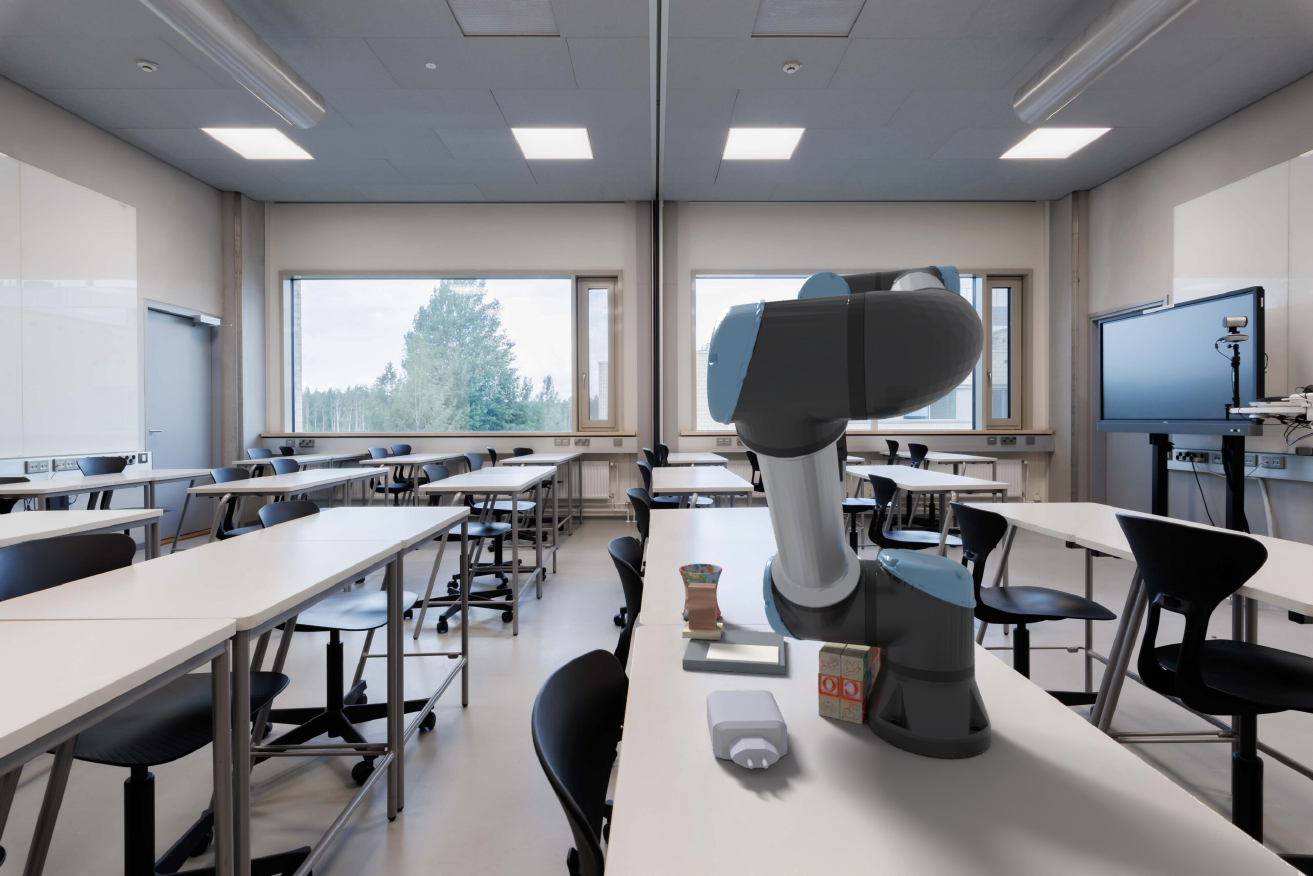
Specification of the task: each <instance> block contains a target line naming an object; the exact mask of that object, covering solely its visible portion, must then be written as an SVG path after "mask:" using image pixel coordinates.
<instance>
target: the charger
mask: <svg viewBox="0 0 1313 876" xmlns="http://www.w3.org/2000/svg"><path fill="white" fill-rule="evenodd" d="M706 719H707V720H706V721H707V726H708V732H709V737H710V742H711V747H712V753H713V755H714V757H716V758H719V759H722V760H731V761H733V762H734V763H735V764H738V765H740V766H741V767H743V768H745V769H750V770H752V769H756V768H759V769H760V768H762V769H768V768H769V766H771V765H773V764H775V763H777V762H778V761H779V759H780V758H781V757H784V756H786V755H787V753H788V727H787V723H786V721H785V719H784V717H783V714H782V712H781V710H780V707H779V706H778V703H777V701H776V699H775V697H774V694H773V693H772V692H771V691H769V690H766V689H745V690H744V689H742V690H741V689H740V690H739V689H738V690H736V689H735V690H733V689H731V690H714V691H711V692H709V693H707V695H706Z"/></svg>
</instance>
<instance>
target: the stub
mask: <svg viewBox="0 0 1313 876" xmlns="http://www.w3.org/2000/svg"><path fill="white" fill-rule="evenodd" d="M717 597H718V594H716V584H712V583H690V584H689V586H688V608H689V619H688V621H686V622H685V625H684V628H682V629H683V630H682V634H681V635H682V639H691V638H692V639H711V640H720V639H721V635H722V631H723V630H724V622H718V618H717V603H718V598H717Z"/></svg>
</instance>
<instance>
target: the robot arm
mask: <svg viewBox="0 0 1313 876" xmlns="http://www.w3.org/2000/svg"><path fill="white" fill-rule="evenodd" d="M960 276H961V275H960V271H959V269H958V267H956V266H954V265H951V264H950V265H928V266H925V267H918V268H917V267H916V268H908V269H907V268H905V269H898V270H890V271H889V270H888V271H878V272H867V273H866V272H864V273H855V274H847V275H839V274H837V273H835V272H832V271H826V270H824V271H823V270H822V271H819V272H815V273H813V274H811V275H810V276H808V277H807V278H806V279H805V280H804V281H803V282H802V284H801V285H800V287H799V290H798V292H797V298H793V299H792V298H791V299H786V300H785V299H783V300H775V301H774V300H773V301H766V299H759V301H757V302H752V303H743V304H736V305H732V306H729V307H727V308H725V309H724V310H723V311H721V313H720V314H719V315H718V317H717V318H716V320H715V323H714V327H713V329H712V334H711V336H710V337H711V338H710V343H709V348H708V349H709V350H708V357H707V366H706V368H707V370H706V393H707V395H706V396H707V406H708V411H709V414H710V418H711V419H712V420H713V421H714V422H716V423H721V424H724V425H725V426H726V425H727V426H728V425H730V424H734V427H735V431H736V434H737V437H738V439H739V441H740V443H741V444H742V445H743V446H744V447H745V448H746V449H748V451H750V452H752V453H754V454H755V455H756V458H757V462H758V466H759V471H760V476H761V481H762V485H763V489H764V494H765V499H766V503H767V507H768V511H769V517H770V521H771V525H772V529H773V534H774V539H775V542H776V547H777V550H776V552H775V554H774V555H771V556H770V557H769V558H768V560H767V562H765V566H764V570H763V577H762V595H763V597H762V598H763V600H764V606H763V607H764V611H765V616H766V619H767V622H768V625H769V626H770V628H771V629H772V630H773V632H776V633H777V634H779V635H781V636H784V637H785V638H786V637H787V638H790V639H794V640H796V641H811V642H822V643H823V642H824V643H825V642H831V643H841V644H851V645H861V646H870V647H878V648H880V667H879V670H878V673H877V676H876V679H875V682H874V685H873V688H872V691H871V693H870V696H869V699H868V703H867V715H866V720H867V725H868V726H869V728H870V730H871V731H872V732H873V733H874V734H876V736H878V737H879V738H880V739H883V740H884V741H886V742H887V743H888V744H889V743H890V745H893V746H894V747H898V748H899V749H903V750H905V751H907V752H912V753H915V754H919V755H924V756H929V757H937V758H947V759H948V758H949V759H954V758H955V759H956V758H959V759H960V758H966V757H967V758H968V757H972V756H977V755H979V754H981V753H983V752H985V751H986V750H987V749H988V748H989V747H990V745H991V742H992V737H991V735H992V734H991V733H992V730H991V729H992V728H991V720H990V718H989V717H990V716H989V714H988V712H987V708H986V706H985V705H986V704H985V703H984V700H983V697H982V694H981V692H980V691H981V690H980V689H979V686H978V683H977V680H976V668H975V667H976V658H975V657H976V656H975V655H976V654H975V652H976V651H975V650H976V649H975V647H976V646H975V607H977V601H976V599H975V589H974V587H975V586H974V579H973V575H972V573H971V572H970V570H969V569H968V568H967V567H966V566H965V565H963V564H962V563H960V562H959V561H956V560H954V559H951V558H950V557H949V558H948V557H945V556H942V555H938V554H933V553H930V552H926V551H922V550H921V551H920V550H914V549H908V548H907V549H906V548H898V549H897V548H884V549H882V550H881V551H879V554H878V555H877V560H876V559H863V558H858V555H857V554H856V552H855V551H854V549H853V548H852V546H851V545H849V543H847V542H846V531H845V519H844V509H843V504H844V503H847V458H848V455H849V452H848V450H847V449H848V446H847V444H848V443H847V427H848V424H849V421H850V422H851V421H852V422H854V421H875V420H878V421H879V420H888V419H893V418H898V417H903V416H906V415H909V414H912V413H915V412H917V411H920V410H923V409H925V408H927V407H929V406H931V405H933V404H934V403H936V402H938V401H940V400H941V399H942V398H944V397H947V396H948V395H949V394H950V393H951V392H953V391H954V390H955V389H956V388H957V387H959V386H960V385H962V384H963V383H964V381H965V380H966V379H967V378H968V377H969V376H970V375H971V373H972V372H973V370H974V369H975V367H976V366H977V364H978V362H979V360H980V358H981V354H982V353H983V348H984V340H985V331H984V326H983V322H982V319H981V318H980V316H979V314H978V312H977V310H976V309H975V307H974V306H973V305H972V304H971V302H970V301H969V300H968V299H966V298H965V297H964V296H962V295H961V277H960Z"/></svg>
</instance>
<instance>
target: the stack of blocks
mask: <svg viewBox="0 0 1313 876" xmlns="http://www.w3.org/2000/svg"><path fill="white" fill-rule="evenodd" d="M879 667H880V648H878V647H870V646H861V645H851V644H841V643H831V642H824V643H823V646H821V648H820V650H818V673H817V678H818V679H817V688H818V689H817V690H818V691H817V692H818V694H817V695H818V697H817V698H818V715H819V716H823V717H827V718H832V719H837V720H841V721H845V722H849V723H854V724H858V725H863V724H864V721H865V720H866V718H867V703H868V699H869V696H870V693H871V691H872V688H873V685H874V682H875V679H876V676H877V673H878V670H879Z"/></svg>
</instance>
